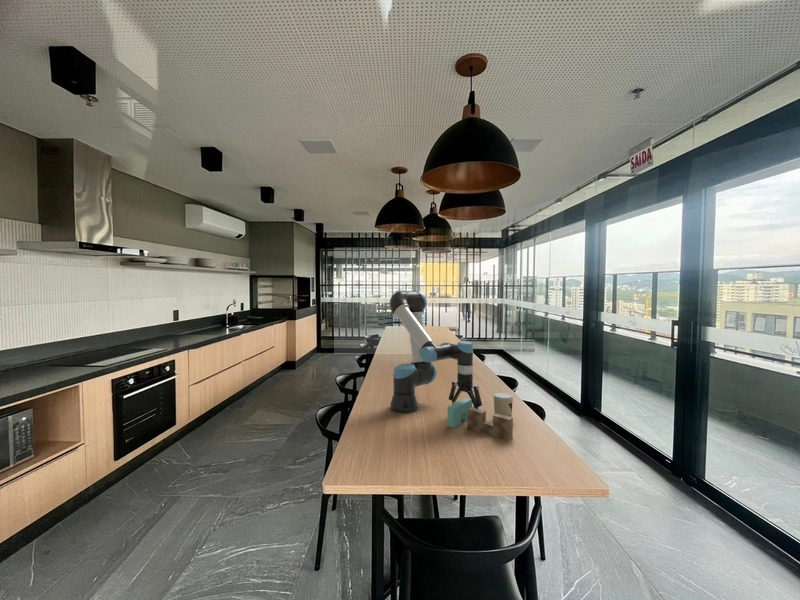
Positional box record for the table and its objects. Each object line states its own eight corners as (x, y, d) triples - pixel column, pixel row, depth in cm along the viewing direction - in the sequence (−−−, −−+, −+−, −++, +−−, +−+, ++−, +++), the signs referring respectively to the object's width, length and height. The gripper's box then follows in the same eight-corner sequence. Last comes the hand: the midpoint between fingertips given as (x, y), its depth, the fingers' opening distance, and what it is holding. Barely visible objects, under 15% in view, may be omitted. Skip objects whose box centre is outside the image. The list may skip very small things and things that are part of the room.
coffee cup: (514, 423, 164) (514, 398, 163) (493, 421, 166) (494, 397, 165) (511, 416, 173) (511, 393, 173) (492, 415, 175) (492, 391, 174)
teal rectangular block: (447, 425, 161) (447, 407, 160) (466, 415, 175) (466, 397, 174) (453, 427, 158) (454, 408, 158) (472, 416, 172) (472, 399, 172)
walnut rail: (467, 428, 158) (467, 409, 157) (471, 426, 160) (471, 407, 160) (509, 440, 145) (509, 419, 145) (512, 437, 148) (512, 417, 147)
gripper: (441, 370, 174) (441, 413, 174) (482, 378, 159) (482, 425, 160) (449, 368, 179) (449, 409, 180) (489, 375, 165) (489, 420, 166)
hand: (464, 417), depth 170 cm, fingers open, 10 cm apart
